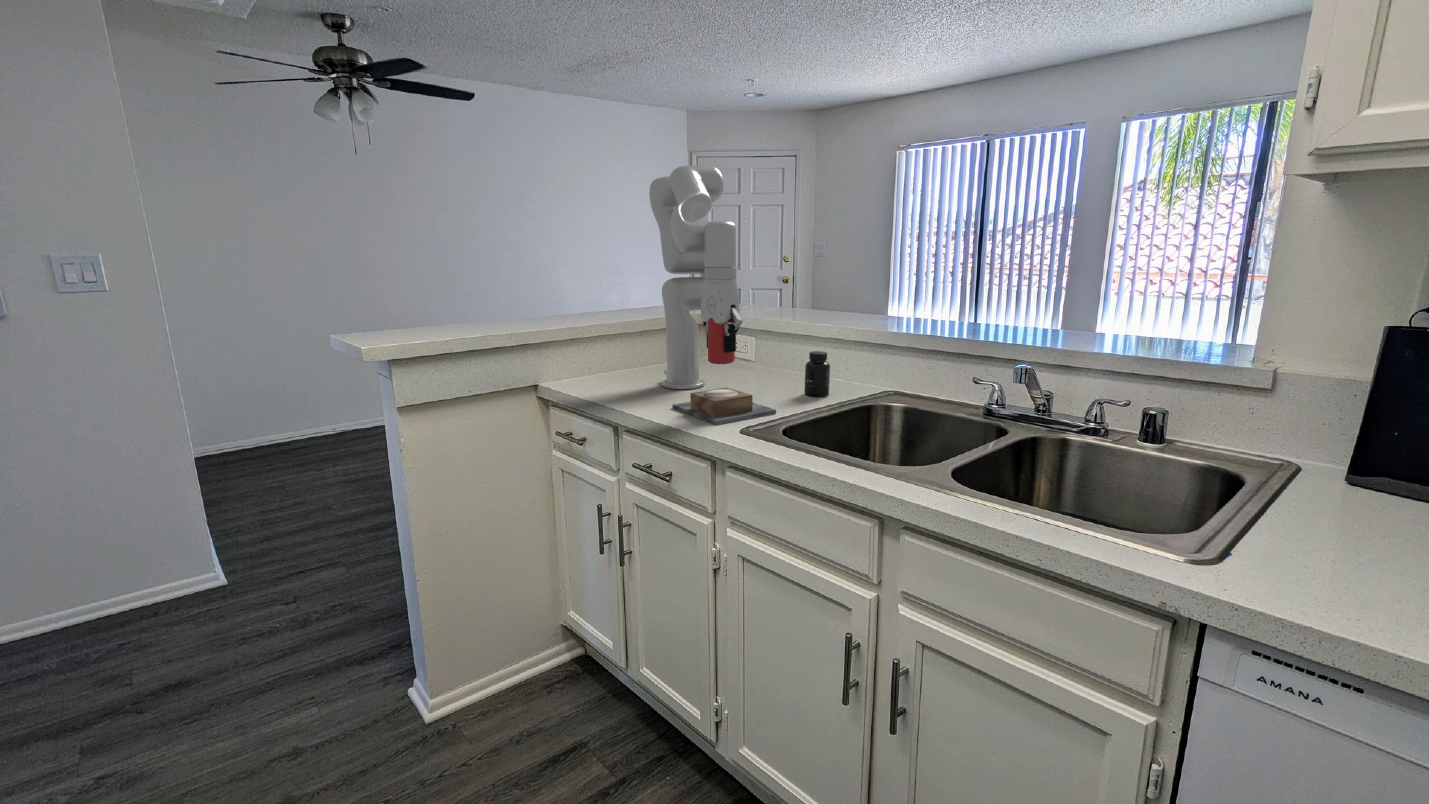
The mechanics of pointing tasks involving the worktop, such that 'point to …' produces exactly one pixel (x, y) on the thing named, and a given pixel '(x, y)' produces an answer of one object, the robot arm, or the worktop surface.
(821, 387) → the supplement bottle
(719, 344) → the beer can
